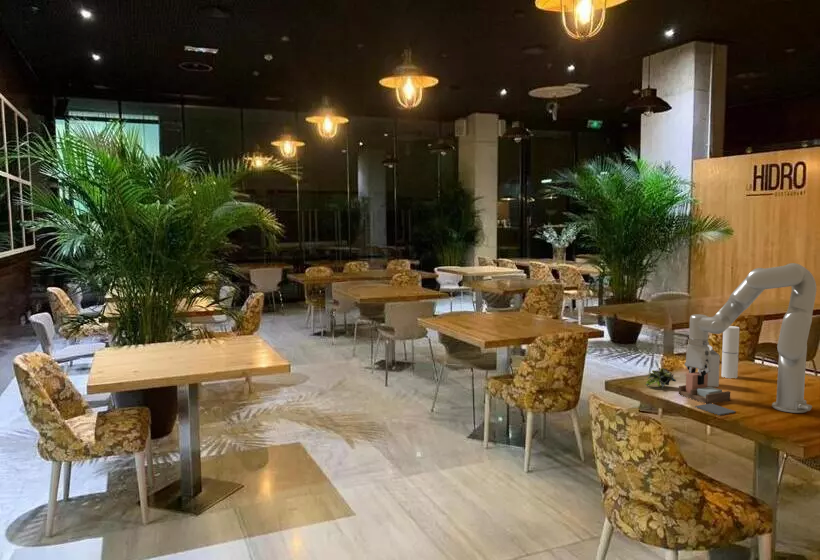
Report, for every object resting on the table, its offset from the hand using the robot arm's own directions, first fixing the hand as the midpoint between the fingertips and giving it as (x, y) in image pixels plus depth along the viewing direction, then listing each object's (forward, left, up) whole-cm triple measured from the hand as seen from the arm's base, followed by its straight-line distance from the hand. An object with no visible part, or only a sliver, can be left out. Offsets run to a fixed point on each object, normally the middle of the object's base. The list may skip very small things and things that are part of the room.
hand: (696, 382), depth 276 cm
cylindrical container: (+18, -41, -6) cm, 45 cm away
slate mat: (-19, +10, -6) cm, 22 cm away
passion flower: (+16, +5, -6) cm, 18 cm away
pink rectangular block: (0, 0, -6) cm, 6 cm away
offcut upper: (-7, 0, -4) cm, 8 cm away
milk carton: (+11, -19, -6) cm, 23 cm away
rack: (-4, 0, -6) cm, 7 cm away
